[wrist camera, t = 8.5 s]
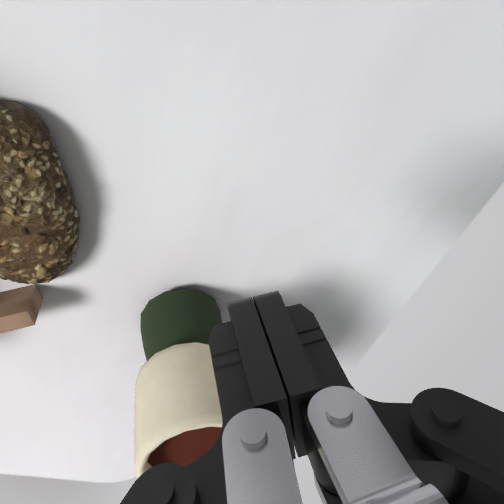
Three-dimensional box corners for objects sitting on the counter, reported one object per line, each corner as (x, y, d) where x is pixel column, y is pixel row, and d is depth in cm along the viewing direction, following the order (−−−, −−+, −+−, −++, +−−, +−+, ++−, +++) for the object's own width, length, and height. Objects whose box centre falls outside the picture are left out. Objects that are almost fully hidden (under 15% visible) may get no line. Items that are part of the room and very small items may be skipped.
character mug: (185, 372, 37) (205, 526, 27) (107, 349, 34) (95, 515, 23) (253, 279, 34) (308, 414, 23) (174, 244, 31) (195, 383, 20)
